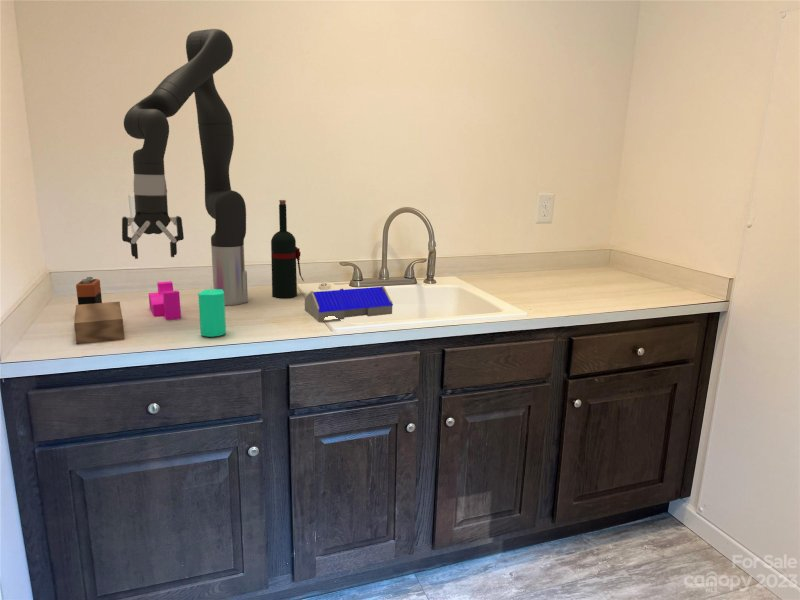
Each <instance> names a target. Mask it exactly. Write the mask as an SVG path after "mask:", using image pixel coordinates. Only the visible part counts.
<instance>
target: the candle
mask: <svg viewBox="0 0 800 600" xmlns="http://www.w3.org/2000/svg"><path fill="white" fill-rule="evenodd" d="M197 295H198V311H199V326H200V328H199V329H200V334H201V336H202V337H203V336H204V337H219V336H223V335H225V334H226V333H227V327H226V326H227V325H226V324H227V323H226V305H225V301H224V291H223V290H222V289H214V288H210V289H203V290H201V291H200V292H198V294H197Z"/></svg>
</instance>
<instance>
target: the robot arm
mask: <svg viewBox="0 0 800 600" xmlns="http://www.w3.org/2000/svg"><path fill="white" fill-rule="evenodd" d="M185 50H186V51H185V52H186V59H187V63H185V64H183V65H182V66H180V67H179V68H177V69H175V70H174V71H172V72H171V73H169V74H168V75H167V76H165V78H164V79H162V81H161V82H160V83H159V84H158V85H157V86H156V87H155V88H154V90H153V91H152V92H151V93H150V94H149V95H147V96H146V97H144V98H142V99H141V100H140V101H138V102H136V103H135V104H134V105H133V106H131V108H130V109H129V110H128V111H127V112H126V113H125V115H124V119H123V129H124V130H125V132H126V133H127V135H129V136H130V137H132V138H133V139H136V140H143V144H142V148H140V149H136V150H135V151H134V152H133V153H132V154H133V155H132V164H133V165H132V168H133V195H134V212H135V215H134V217H130V216H129V217H127V216H122V217H121V239H122V241H123V242H124V243H128V244H130V249H131V250H130V252H131V253H130V254H131V256H132V257H134V259H135V260H138V259H139V253H138V250H139V249H138V243H137V242H138V240H139V239H140V238H141V237H142V235H143V234H146V235H152V234H154V235H161V234H162V233H163V234H164V235H165V236H166V237H167V238H168V239H169V240H170V242H169V251H170V257H171V258H175V256H177V253H178V249H177V246H178V245H177V242H180V241H183V240H184V238H185V237H184V229H183V219H182V217H181V216H179V215H176V216H171V217H170V216H169V210H168V209H169V208H168V207H169V206H168V189H167V180H166V173H165V172H166V171H165V154H166V150H167V145H168V140H169V136H170V125H169V120H168V118H171V117H174V116H175V115H176V114H177V113H178V112H179V111H180V110H181V108H183V106H184V105H185V103H186V102H187V101H188V100H189V99H190V97H191V96H192V95H193V94H194V100H195V107H196V114H197V115H196V116H197V117H196V118H197V124H198V126H197V127H198V134H199V142H200V149H201V157H202V164H203V173H204V206H205V210H206V211H207V214H208V215H209V216H210V217H211V218H212V219H214V220H215V224H214V225H215V230H214V233H213V234H212V235H211V237H210V245H211V246H210V247H211V248H210V249H211V263H212V264H211V267H212V282H213V284H212V285H213V286H212V287H213V288H212V289H222V290H223V291H224V301H225V306H236V305H241V304H244V303H245V304H246V303H247V304H248V303H249V301H248V300H249V299H248V297H249V295H248V294H249V293H248V272H247V270H246V266H245V261H246V260H245V242H244V241H245V237H246V234H247V207H246V205H247V204H246V201H245V199H244V197H243V195H241V193H239V192H237V191H236V190H232V186H231V179H230V167H231V166H230V165H231V160H232V156H233V151H234V147H235V146H234V143H235V138H234V137H235V136H234V125H233V119H232V115H231V113H230V111H229V109H228V107H227V106H226V105H227V104H225V102H224V101H223V99H222V98H221V95H220V94H219V92H218V89H217V87H216V85H215V79H214V74H215V73H216V72H217V73H218V71H219V70H220V69H222V68H223V67H225V66H226V65H227V64H228V63H229V62H230V60H231V59H232V57H233V53H234V46H233V42H232V39H231V37H230V36H229V35H228V33H226V31H224V30H223V29H217V28H209V29H201V30H200V29H199V30H196V31H195V30H194V31H192V32H190V33H189V34H188V35H187V37H186V42H185ZM132 223H134V224H135V225H136V226H137V227H138V228H137V229H136V230H135V232H134V234H133V235H132V236H129V227H130V226H132ZM170 223H172V224H173V225H174V226H176V232H177V235H175V236H174V235H173V234H172V233H171V232H170V231H169V229H167V227H168V226H169V225H170Z"/></svg>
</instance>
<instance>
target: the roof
mask: <svg viewBox="0 0 800 600" xmlns="http://www.w3.org/2000/svg"><path fill="white" fill-rule="evenodd" d="M393 306H394V304H393V301H392V299H391V297H390V296H389V293H388V291H387V289H386V287H385V285H382V286H375V287H361V288H360V287H359V288H349V289H344V288H340V289H337V290H336V289H334V290H321V291H313V290H312V291H311V290H310V292H309V293H308V294H307V295H306V296H305V298H304V311H305V312H306V313H308V314H309V315H310V316H311V317H312V318H314V320H315V321H316V322H318V323H320V322H321V323H322V322H324V321H323V320H324V318H325V317H328V316H335V317H336V318H338V319H339V320H345V318H351V317H352V318H354V317H363V316H367V317H369V318H370V317H377V316H386V315H392V314H393ZM339 320H338V321H339Z"/></svg>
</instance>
